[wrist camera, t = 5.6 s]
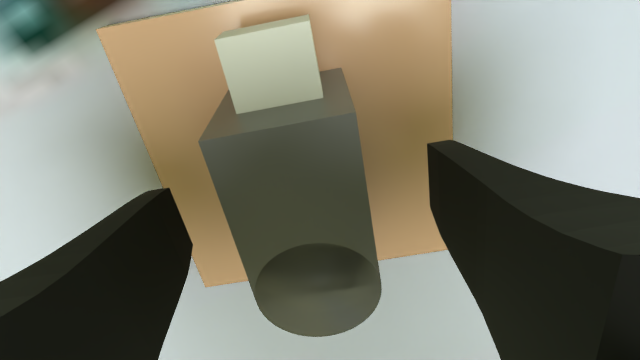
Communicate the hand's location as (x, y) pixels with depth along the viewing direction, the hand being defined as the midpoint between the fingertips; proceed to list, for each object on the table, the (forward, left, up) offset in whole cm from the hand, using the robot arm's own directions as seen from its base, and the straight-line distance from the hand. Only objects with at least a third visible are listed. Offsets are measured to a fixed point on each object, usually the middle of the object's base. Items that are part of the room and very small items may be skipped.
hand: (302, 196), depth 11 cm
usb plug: (0, 0, -3) cm, 3 cm away
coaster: (0, 0, -3) cm, 3 cm away
